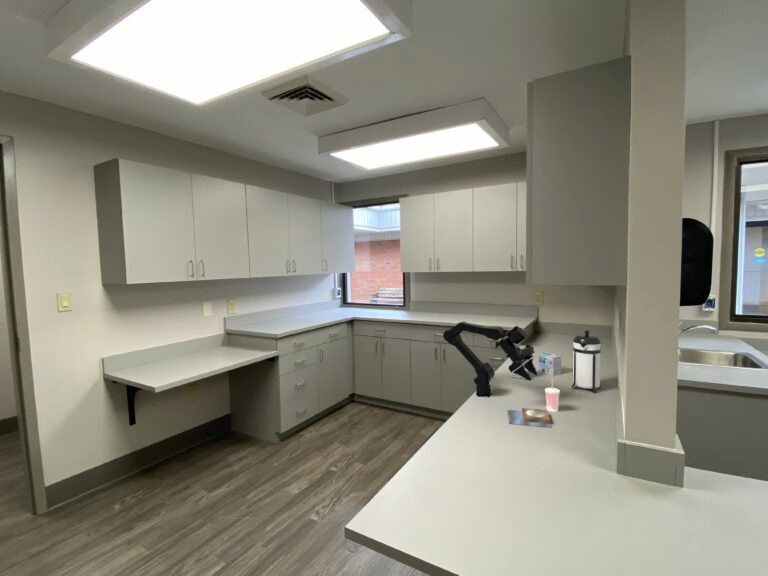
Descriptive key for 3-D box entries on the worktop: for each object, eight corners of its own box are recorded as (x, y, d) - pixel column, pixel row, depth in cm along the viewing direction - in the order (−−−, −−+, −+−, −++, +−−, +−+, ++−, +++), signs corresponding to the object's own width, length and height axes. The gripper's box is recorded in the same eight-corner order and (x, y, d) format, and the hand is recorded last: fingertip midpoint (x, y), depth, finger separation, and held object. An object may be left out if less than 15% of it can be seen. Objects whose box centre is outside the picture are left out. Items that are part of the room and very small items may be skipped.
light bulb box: (538, 371, 221) (538, 353, 220) (546, 369, 224) (546, 351, 223) (553, 376, 212) (553, 357, 211) (561, 374, 214) (561, 355, 214)
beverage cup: (551, 413, 161) (551, 381, 160) (541, 408, 167) (541, 377, 166) (563, 411, 163) (563, 380, 162) (553, 406, 169) (553, 376, 168)
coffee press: (611, 392, 183) (612, 332, 181) (578, 393, 183) (579, 333, 181) (592, 381, 200) (593, 326, 198) (562, 382, 201) (563, 327, 198)
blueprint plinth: (509, 423, 152) (509, 418, 152) (507, 410, 166) (507, 405, 165) (551, 427, 148) (551, 422, 148) (546, 413, 161) (546, 408, 161)
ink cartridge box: (531, 377, 210) (531, 352, 209) (528, 380, 206) (528, 354, 205) (513, 374, 216) (513, 349, 215) (510, 377, 212) (510, 352, 211)
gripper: (516, 343, 164) (541, 373, 158) (529, 336, 179) (553, 362, 173) (498, 357, 170) (522, 386, 164) (512, 349, 184) (534, 375, 178)
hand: (533, 377), depth 170 cm, fingers open, 9 cm apart
